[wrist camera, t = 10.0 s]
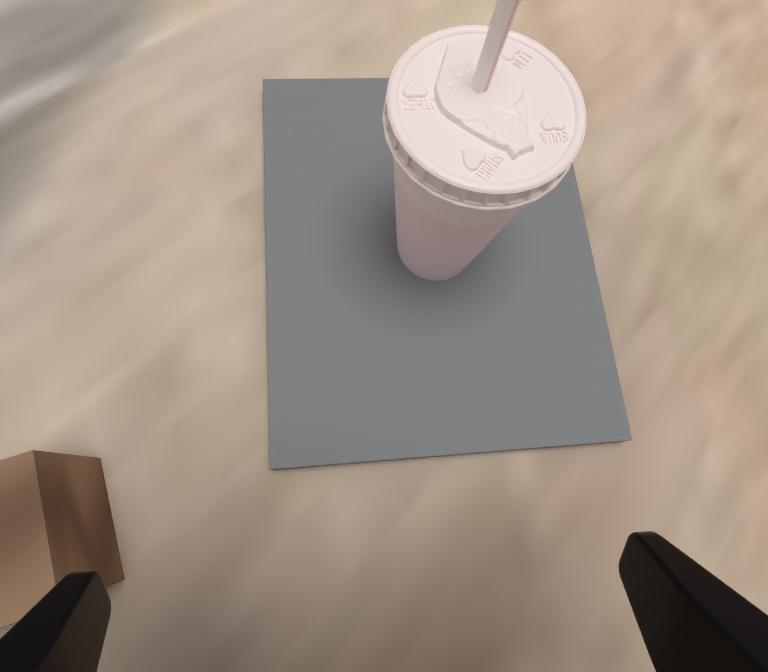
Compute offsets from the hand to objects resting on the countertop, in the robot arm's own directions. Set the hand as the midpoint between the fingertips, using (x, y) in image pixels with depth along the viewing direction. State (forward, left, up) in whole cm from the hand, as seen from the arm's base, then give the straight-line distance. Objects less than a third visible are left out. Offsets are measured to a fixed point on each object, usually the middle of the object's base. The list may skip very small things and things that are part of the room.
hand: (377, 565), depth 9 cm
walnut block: (0, +13, -14) cm, 19 cm away
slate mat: (+12, -4, -14) cm, 19 cm away
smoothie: (+12, -5, -13) cm, 19 cm away
